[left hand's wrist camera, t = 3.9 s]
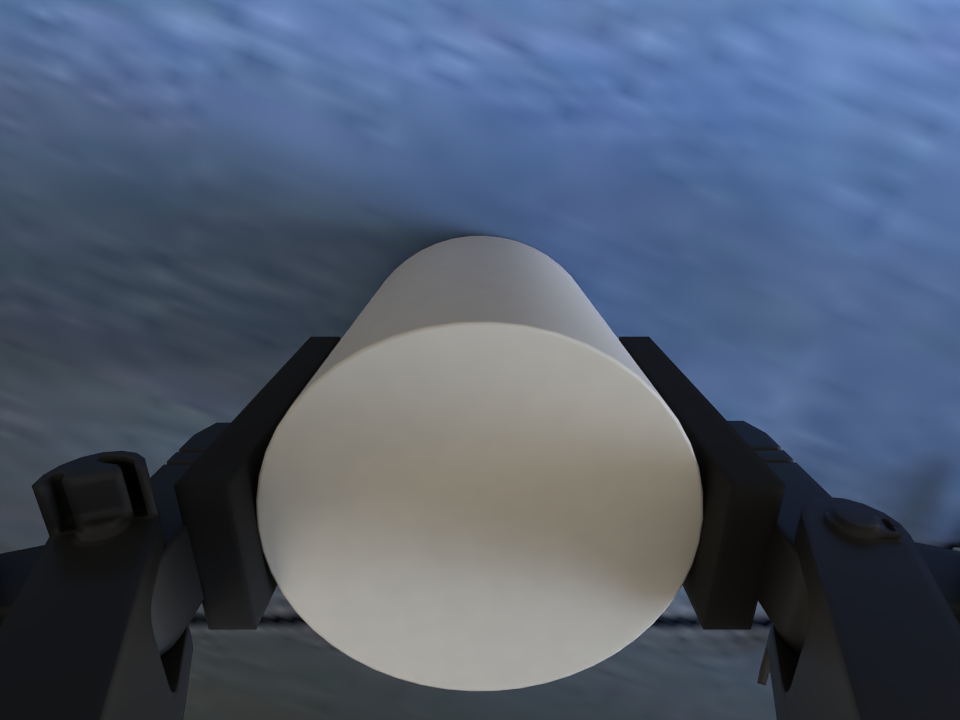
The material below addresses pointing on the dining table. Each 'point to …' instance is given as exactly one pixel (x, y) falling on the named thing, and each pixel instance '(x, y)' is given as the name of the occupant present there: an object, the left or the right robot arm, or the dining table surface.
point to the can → (479, 479)
